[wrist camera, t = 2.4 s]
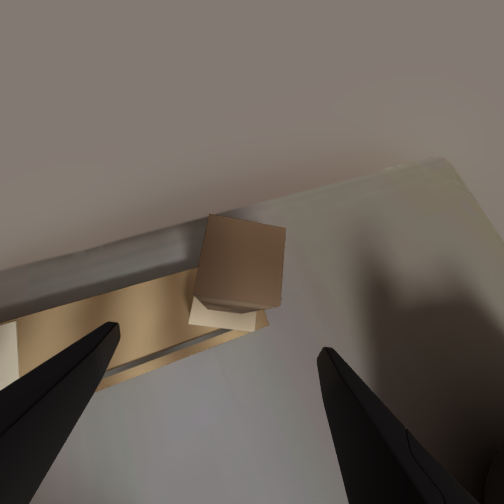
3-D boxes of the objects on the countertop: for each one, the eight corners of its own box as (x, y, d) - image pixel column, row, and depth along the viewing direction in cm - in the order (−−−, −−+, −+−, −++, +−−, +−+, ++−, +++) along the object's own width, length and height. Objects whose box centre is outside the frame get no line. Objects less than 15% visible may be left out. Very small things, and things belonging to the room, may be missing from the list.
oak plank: (243, 257, 21) (245, 253, 20) (266, 324, 20) (269, 325, 19) (-94, 353, 15) (-122, 356, 14) (-100, 464, 13) (-132, 479, 12)
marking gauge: (249, 330, 18) (317, 354, 6) (191, 323, 18) (135, 333, 5) (257, 265, 20) (319, 181, 8) (205, 256, 19) (186, 153, 7)
